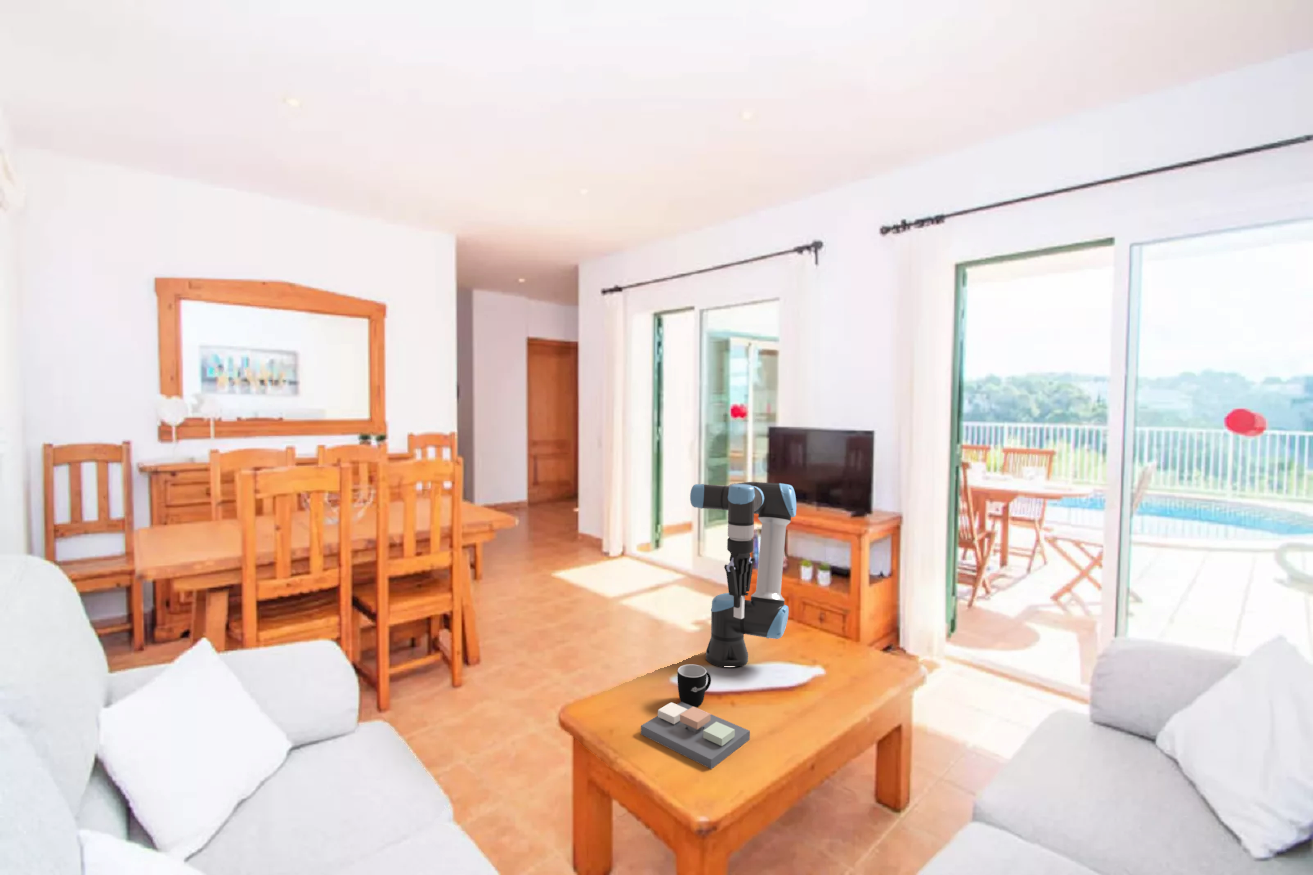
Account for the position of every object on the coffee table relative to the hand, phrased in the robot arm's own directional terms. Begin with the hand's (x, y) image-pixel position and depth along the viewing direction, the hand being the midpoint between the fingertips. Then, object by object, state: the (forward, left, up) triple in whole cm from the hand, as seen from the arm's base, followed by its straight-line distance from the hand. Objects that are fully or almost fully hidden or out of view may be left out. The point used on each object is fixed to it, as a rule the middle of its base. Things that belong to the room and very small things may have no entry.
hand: (738, 617), depth 179 cm
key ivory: (+18, -10, -29) cm, 35 cm away
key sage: (+18, +6, -29) cm, 35 cm away
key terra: (+18, -2, -27) cm, 33 cm away
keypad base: (+18, -2, -29) cm, 35 cm away
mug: (+2, -14, -30) cm, 33 cm away
